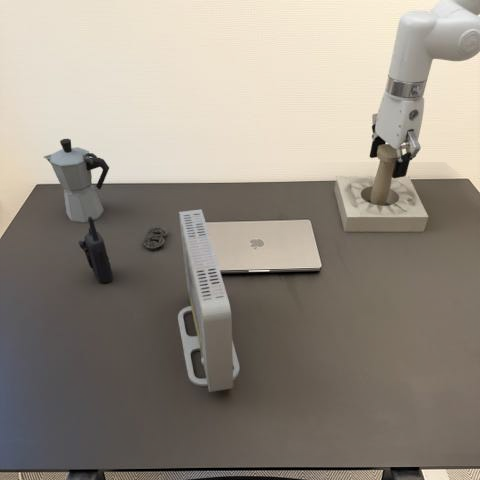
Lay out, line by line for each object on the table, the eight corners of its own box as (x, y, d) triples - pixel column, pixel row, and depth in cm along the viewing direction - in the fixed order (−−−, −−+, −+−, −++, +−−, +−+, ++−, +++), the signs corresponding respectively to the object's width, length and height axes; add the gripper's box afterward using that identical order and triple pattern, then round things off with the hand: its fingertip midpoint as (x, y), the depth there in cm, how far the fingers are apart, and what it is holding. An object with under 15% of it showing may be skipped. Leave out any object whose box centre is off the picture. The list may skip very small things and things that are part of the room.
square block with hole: (404, 190, 119) (408, 176, 116) (423, 231, 107) (428, 216, 104) (334, 190, 119) (336, 176, 117) (344, 231, 107) (347, 216, 104)
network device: (247, 396, 75) (248, 307, 61) (193, 406, 74) (181, 317, 60) (218, 292, 93) (213, 203, 79) (174, 298, 92) (161, 210, 77)
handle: (370, 218, 111) (384, 158, 100) (362, 203, 115) (374, 144, 104) (390, 216, 111) (406, 156, 100) (380, 202, 116) (395, 143, 105)
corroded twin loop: (170, 230, 107) (169, 226, 107) (163, 251, 102) (162, 248, 101) (148, 229, 108) (148, 225, 107) (140, 250, 102) (139, 246, 101)
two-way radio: (116, 281, 95) (99, 219, 84) (94, 289, 94) (75, 226, 83) (107, 266, 99) (90, 204, 88) (86, 273, 97) (67, 211, 86)
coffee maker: (52, 220, 111) (27, 147, 98) (68, 200, 117) (46, 129, 104) (112, 226, 109) (95, 152, 96) (125, 206, 115) (110, 134, 102)
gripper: (448, 99, 88) (423, 182, 100) (398, 69, 99) (382, 147, 112) (413, 104, 86) (392, 188, 98) (367, 73, 98) (353, 152, 110)
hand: (386, 166), depth 105 cm, fingers open, 9 cm apart
